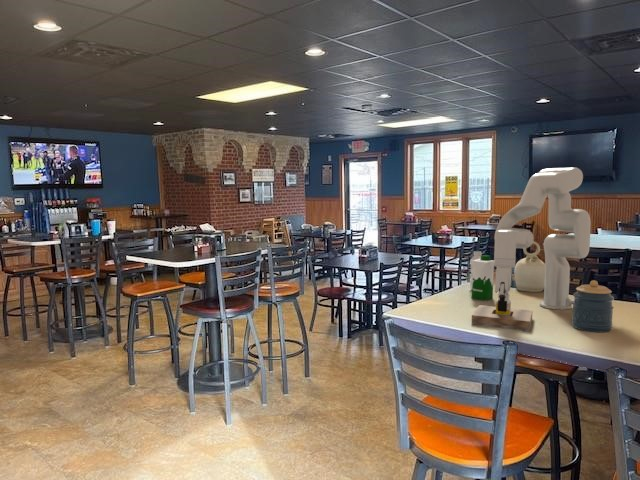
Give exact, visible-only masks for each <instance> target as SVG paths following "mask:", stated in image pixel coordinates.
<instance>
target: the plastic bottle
mask: <svg viewBox="0 0 640 480" xmlns="http://www.w3.org/2000/svg"><path fill="white" fill-rule="evenodd" d="M481 255H483V254H482V251H480V250H473V257H471V259H470V261H469V263H470V270H471V271H470V272H471V273H470V280H469V289H470V290H471V291H472V277H473V267H472V260H477V259H481Z"/></svg>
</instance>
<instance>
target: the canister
mask: <svg viewBox="0 0 640 480" xmlns="http://www.w3.org/2000/svg"><path fill="white" fill-rule="evenodd" d="M575 290H576V291H575V292H573V294H572V295H573V298H574V299H573V300H574V302H573V304H572V318H571V324H572V325H571V326H572V327H573V328H575V329H577V330H582V331H586V332H591V333H592V332H594V333H608V332H610V331H612V328H613V315H614V314H613V313H614V312H613V311H614V306H613V301H614V300H615V297H614V296H612V295H611V293H612V290H611V289H609V288H608V286H607V287H606V286H604V285H599V283H598V281H597V280H594V279H593V280H591V281H590V282H589V284H581V285H580V286H577V287H576V288H575Z"/></svg>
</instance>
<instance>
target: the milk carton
mask: <svg viewBox="0 0 640 480" xmlns="http://www.w3.org/2000/svg"><path fill="white" fill-rule="evenodd" d="M472 267H473V277H472V290H471V295H470V296H471V298H470V299H472V300H473V299H475V300H481V301H488V300H492V299H493V297H494V272H495V271H494V270H495V266H494V259H491V255H488V254H487V255H486V254H482V255H481V259H477V260H472Z"/></svg>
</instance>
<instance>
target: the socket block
mask: <svg viewBox="0 0 640 480" xmlns="http://www.w3.org/2000/svg"><path fill="white" fill-rule="evenodd" d="M533 312H534V311H533V310H530V309H523V308H522V309H521V308H512V307H511V311H510V316H507V315H498V314H496V306H492V305H491V306H489V305H480V304H479V305H478V306H477V307H476V309H475V310H474V312H472V314H471V325H475V326H476V325H477V326H484V327H491V328H500V329H507V330H508V329H509V330H518V331H524V332H530V330H531V326H532V321H533Z"/></svg>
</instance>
